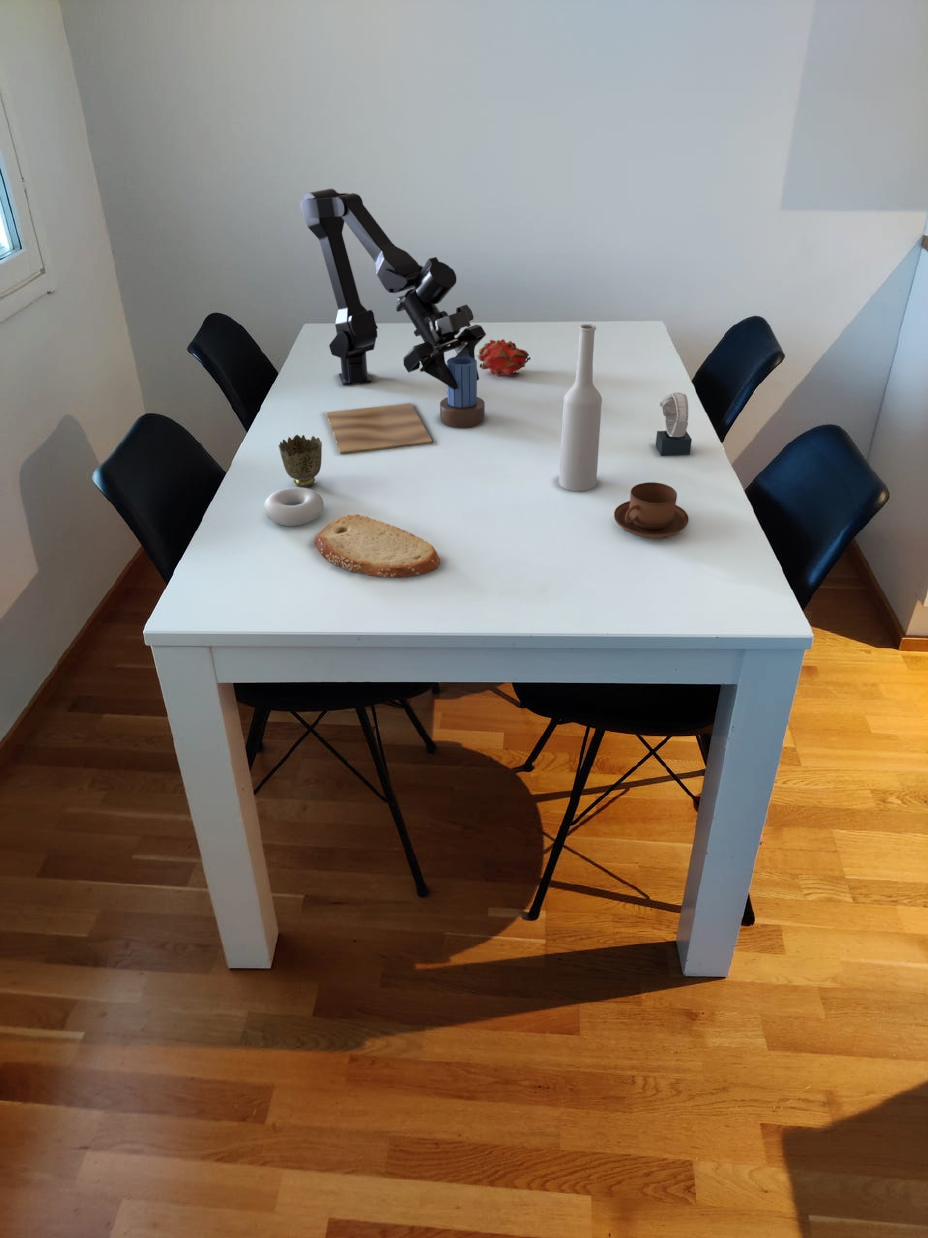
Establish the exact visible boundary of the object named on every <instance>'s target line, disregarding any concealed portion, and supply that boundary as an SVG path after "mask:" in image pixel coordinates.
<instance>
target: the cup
mask: <svg viewBox="0 0 928 1238" xmlns="http://www.w3.org/2000/svg"><path fill="white" fill-rule="evenodd" d="M322 442H323V441H321V439H320V437H317V438H316V436H314V435H312V436H311V437H310V439H309V438H308V439H307V438H306V437H305V435H304V434H303V435H301V436H300V435H299V434H296V435H294V437H293V438H291V437H290V436H288V438H287V441H286V440H285V439H282V441H280V442H279V444H278V449H279V453H280V457H281V461H282V464H283V468H284V470H285V472H286V474H287V475H288V476H289V477H290V478H291V479H293V482H294V485H296V487H301V488H309V487H312V486H313V485H314V484H315V481H316V477H317V476H318V474H319V473H320V471H321V469H322V456H323V455H322V453H323V452H322V451H323V450H322V449H323V448H322V446H323V443H322Z"/></svg>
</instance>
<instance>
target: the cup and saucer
mask: <svg viewBox="0 0 928 1238" xmlns="http://www.w3.org/2000/svg"><path fill="white" fill-rule="evenodd" d="M629 496H630V497H629V500H627V501H625V502H623V503H621V504H619V505H618V506H617V507H616V508H615V509H614V512H613V517H614V520H615V522H616V524H617V525H618V526H619V527H620V528H621V529H623V530H624V531H626V532H627V533H630V534H632V535H634V536H639V537H642V538H649V539H659V538H667V537H671V536H674V535H676V534H678V533H680V532H682V531H683V530H685V528H686V527H687V525H688V524H689V515H688V513H687V512H686V510H685V509H683V508H682V507H681V506H679V505H677V498H678V493H677V490H676V489H674V487H672V486H670V485H668V484H665V483H661V482H651V481H650V482H649V481H648V482H642V483H641V482H640V483H638V484H636V485H634V486H632V487H631V489H630V495H629Z"/></svg>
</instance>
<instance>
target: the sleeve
mask: <svg viewBox="0 0 928 1238" xmlns="http://www.w3.org/2000/svg"><path fill="white" fill-rule="evenodd" d="M446 365H447V367H448V368H449V370H450V372H451V374H452V375H453V377H454V379H455V381H456V383H457V385H458V388H457V389H456V390H454V389H452V388H451V387H449V386H447V385H446V386H447V387H446V388H447V391H446V392H447V397H448V404H449V405H451V406H453V407H458V408H462V407H463V408H466V407H471V406H474V405H475V404H476V403H477V397H478V381H477V370H478V360H477V359H476V357H475V358H472V357H468V356H457V357H455V356H453V357H450V358H447V360H446Z"/></svg>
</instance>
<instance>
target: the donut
mask: <svg viewBox="0 0 928 1238" xmlns="http://www.w3.org/2000/svg"><path fill="white" fill-rule="evenodd" d="M324 504H325V503H324V499H323V498H322V496H321V495H320V494H319V493H318V492H317V491H315V490H314V489H311V488H309V487H305V488H302V487H298V486H296V487H295V486H294V487H293V486H292V487H286V488H282V489H279V490H276V491H275V492H273V493H271V494H270V495H269V496H268V497H267V498H266V499H265V501H264V506H263V511H264V513H265V516H266V517H267V518H268V520H270V521H271V522H272V523H274V524H277V525H280V526H285V527H292V526H302V525H306V524H308V523H311V522H313V521H314V520H316V519H318V518H319V517H320V516H321V514H323V511H324V506H325V505H324Z"/></svg>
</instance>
